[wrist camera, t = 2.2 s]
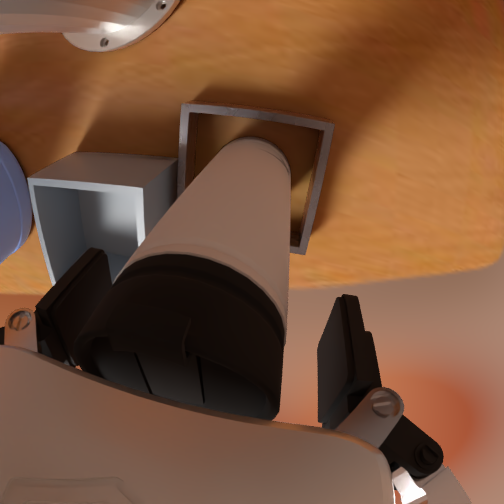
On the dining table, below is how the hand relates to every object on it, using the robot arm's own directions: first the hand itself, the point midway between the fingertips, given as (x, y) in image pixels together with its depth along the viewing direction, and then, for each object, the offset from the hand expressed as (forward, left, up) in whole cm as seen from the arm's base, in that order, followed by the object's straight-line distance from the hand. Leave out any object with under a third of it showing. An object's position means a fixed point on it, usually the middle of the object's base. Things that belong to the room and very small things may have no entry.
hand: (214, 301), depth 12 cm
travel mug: (0, 0, -15) cm, 15 cm away
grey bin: (+5, -12, -15) cm, 20 cm away
